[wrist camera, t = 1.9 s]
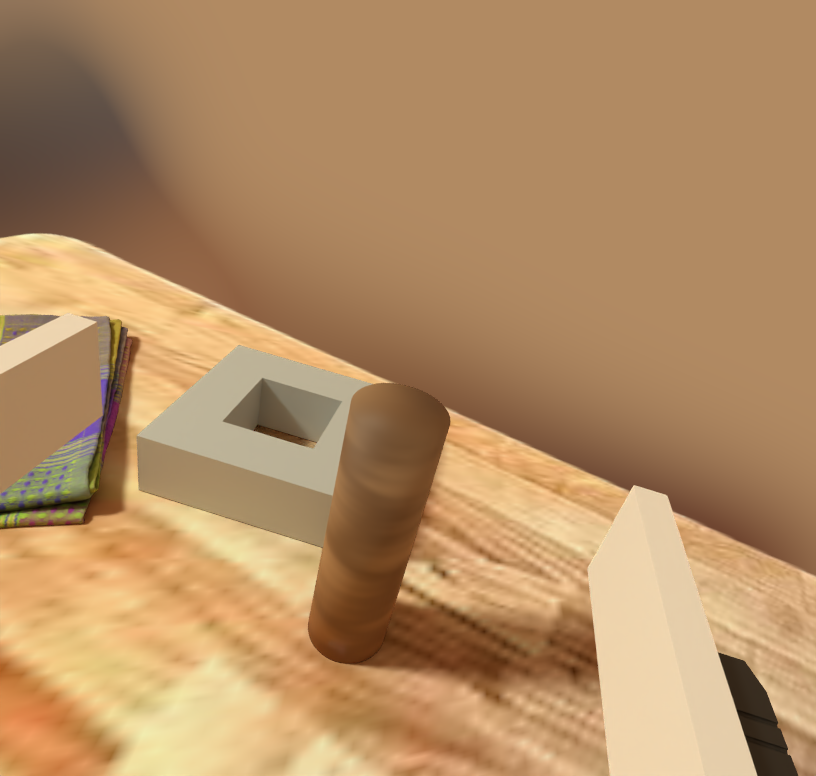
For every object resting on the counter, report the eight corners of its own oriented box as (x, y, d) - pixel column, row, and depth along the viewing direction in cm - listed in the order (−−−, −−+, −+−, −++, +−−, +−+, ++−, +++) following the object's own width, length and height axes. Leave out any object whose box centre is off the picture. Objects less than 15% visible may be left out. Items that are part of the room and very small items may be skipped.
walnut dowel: (392, 607, 34) (456, 400, 26) (374, 674, 30) (442, 453, 23) (323, 585, 34) (365, 373, 27) (296, 648, 30) (337, 422, 23)
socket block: (388, 435, 49) (399, 391, 46) (339, 552, 37) (351, 501, 34) (235, 390, 50) (238, 344, 47) (138, 489, 37) (136, 435, 35)
